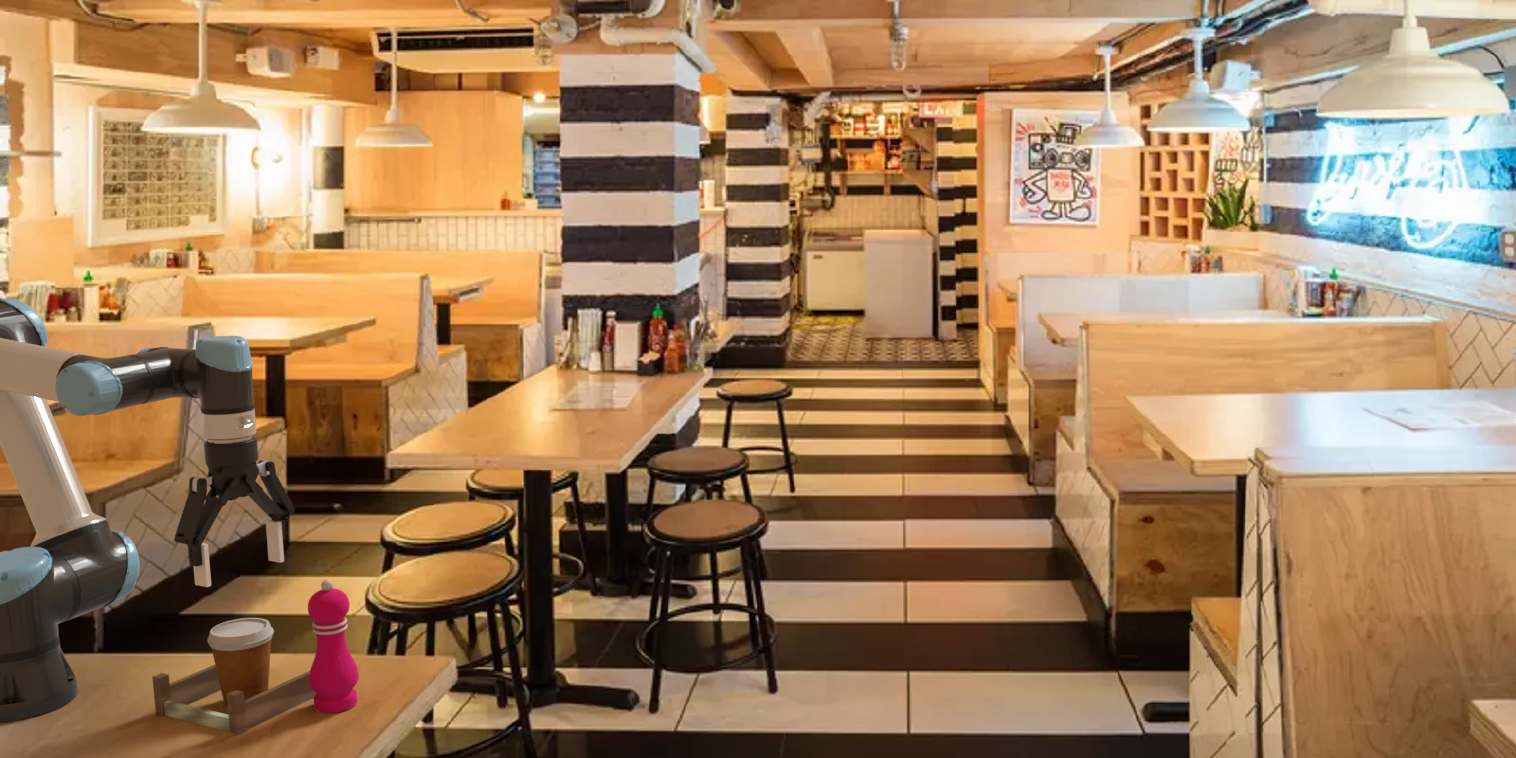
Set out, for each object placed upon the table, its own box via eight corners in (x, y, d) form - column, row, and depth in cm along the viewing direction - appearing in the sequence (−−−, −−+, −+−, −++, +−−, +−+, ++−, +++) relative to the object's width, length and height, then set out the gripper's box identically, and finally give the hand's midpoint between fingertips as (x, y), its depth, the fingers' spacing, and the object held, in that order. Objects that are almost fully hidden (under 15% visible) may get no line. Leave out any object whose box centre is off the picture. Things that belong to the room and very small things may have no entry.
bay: (155, 714, 191) (152, 676, 190) (262, 667, 209) (259, 633, 208) (238, 735, 183) (234, 695, 182) (341, 684, 201) (338, 648, 200)
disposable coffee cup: (255, 715, 190) (249, 639, 188) (199, 711, 192) (193, 636, 190) (291, 691, 199) (285, 618, 197) (237, 687, 201) (231, 615, 199)
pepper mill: (337, 692, 198) (328, 570, 195) (370, 701, 195) (362, 576, 192) (300, 709, 192) (290, 583, 189) (334, 718, 189) (324, 589, 185)
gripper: (174, 456, 179) (187, 600, 182) (312, 425, 200) (320, 554, 204) (140, 451, 182) (153, 592, 186) (279, 422, 204) (288, 548, 207)
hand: (240, 573), depth 195 cm, fingers open, 13 cm apart
